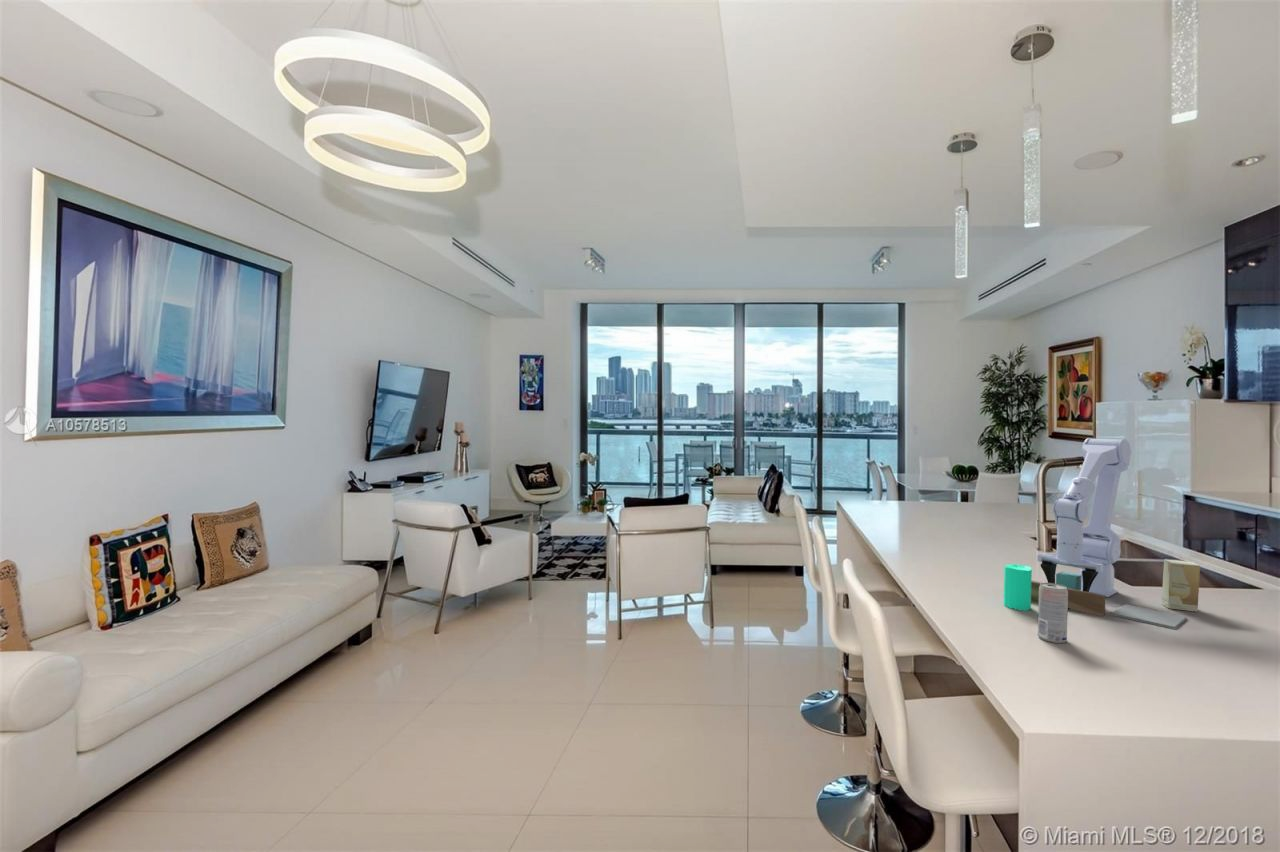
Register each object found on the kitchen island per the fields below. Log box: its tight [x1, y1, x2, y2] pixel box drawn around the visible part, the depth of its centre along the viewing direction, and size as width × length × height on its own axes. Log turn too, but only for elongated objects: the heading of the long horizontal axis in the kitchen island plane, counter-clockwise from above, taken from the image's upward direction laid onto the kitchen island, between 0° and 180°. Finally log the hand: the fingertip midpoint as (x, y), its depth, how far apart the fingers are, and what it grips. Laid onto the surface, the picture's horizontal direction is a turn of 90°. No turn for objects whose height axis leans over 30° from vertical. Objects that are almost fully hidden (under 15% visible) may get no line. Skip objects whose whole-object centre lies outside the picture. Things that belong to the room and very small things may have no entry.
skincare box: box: [1161, 558, 1201, 613], centre depth 155 cm, size 6×4×12 cm
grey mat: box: [1111, 603, 1187, 630], centre depth 148 cm, size 12×12×1 cm
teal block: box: [1055, 571, 1082, 590], centre depth 161 cm, size 4×4×7 cm
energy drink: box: [1037, 582, 1069, 644], centre depth 132 cm, size 5×5×12 cm
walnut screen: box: [1031, 579, 1107, 617], centre depth 156 cm, size 2×20×5 cm, turn 37°
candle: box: [1003, 563, 1033, 611], centre depth 155 cm, size 6×6×12 cm
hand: (1068, 592), depth 161 cm, fingers open, 7 cm apart
